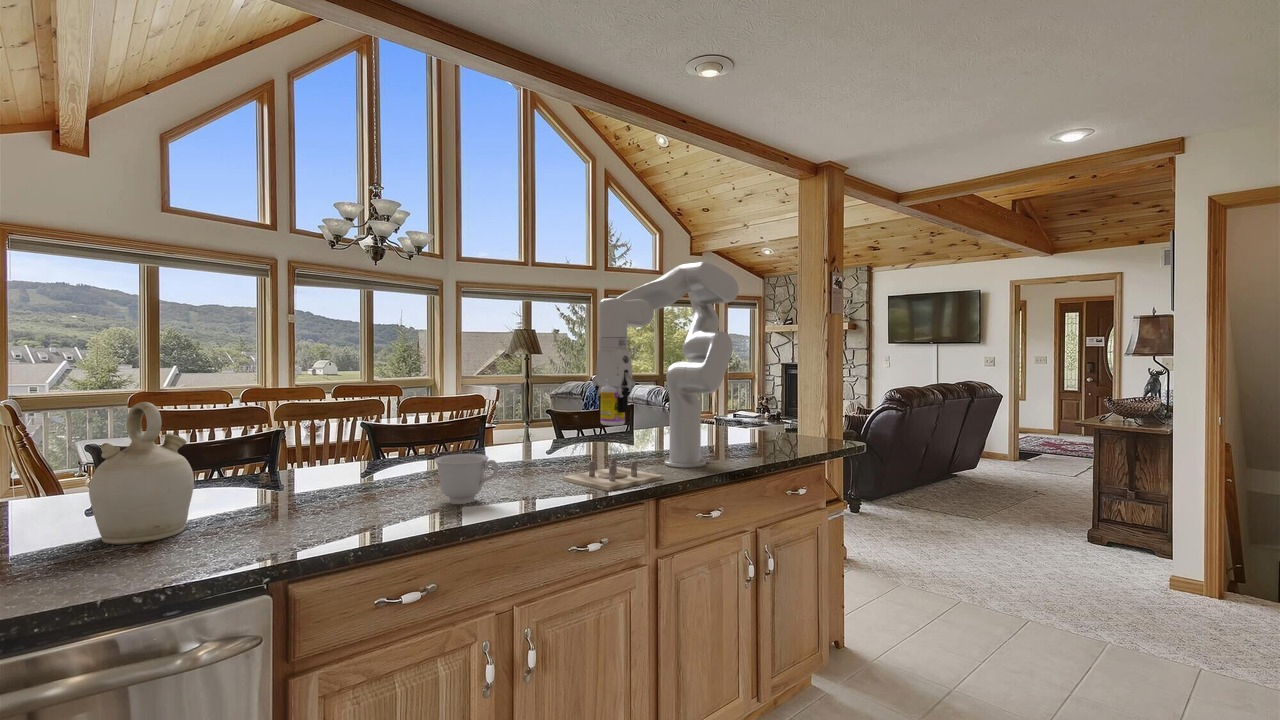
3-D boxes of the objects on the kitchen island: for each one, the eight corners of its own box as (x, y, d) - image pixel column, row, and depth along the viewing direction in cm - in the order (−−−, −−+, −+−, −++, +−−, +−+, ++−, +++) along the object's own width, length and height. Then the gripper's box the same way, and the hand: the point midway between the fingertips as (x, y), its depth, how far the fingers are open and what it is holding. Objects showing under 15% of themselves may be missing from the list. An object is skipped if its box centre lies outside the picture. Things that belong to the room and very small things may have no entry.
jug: (181, 519, 127) (179, 397, 126) (205, 533, 117) (204, 401, 117) (81, 536, 115) (80, 402, 115) (99, 553, 105) (98, 407, 105)
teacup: (486, 510, 134) (486, 464, 134) (423, 506, 137) (423, 461, 137) (508, 497, 146) (508, 455, 146) (450, 494, 149) (450, 452, 149)
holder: (617, 470, 180) (617, 453, 179) (662, 479, 167) (662, 460, 167) (562, 480, 165) (562, 461, 165) (608, 491, 153) (608, 471, 153)
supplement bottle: (614, 426, 161) (614, 377, 161) (595, 424, 165) (595, 376, 165) (630, 424, 167) (630, 376, 166) (611, 422, 171) (611, 375, 170)
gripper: (646, 344, 162) (646, 412, 162) (601, 345, 174) (601, 408, 175) (625, 344, 157) (625, 414, 157) (581, 344, 169) (581, 410, 169)
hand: (613, 410), depth 166 cm, fingers closed on supplement bottle, 6 cm apart
